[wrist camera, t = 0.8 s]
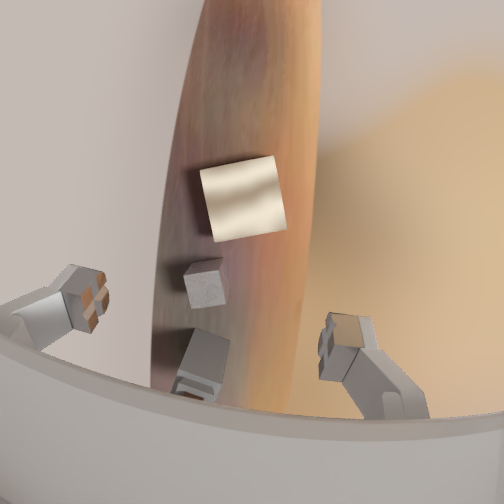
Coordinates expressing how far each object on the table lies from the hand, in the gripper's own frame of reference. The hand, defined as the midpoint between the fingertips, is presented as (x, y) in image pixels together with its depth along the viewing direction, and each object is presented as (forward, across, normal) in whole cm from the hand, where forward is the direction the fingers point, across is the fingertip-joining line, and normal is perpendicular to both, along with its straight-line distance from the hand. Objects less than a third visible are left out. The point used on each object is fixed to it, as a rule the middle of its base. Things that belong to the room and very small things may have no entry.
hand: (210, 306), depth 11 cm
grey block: (+36, -7, -26) cm, 44 cm away
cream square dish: (+40, -3, -12) cm, 42 cm away
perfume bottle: (+32, -6, -39) cm, 51 cm away
